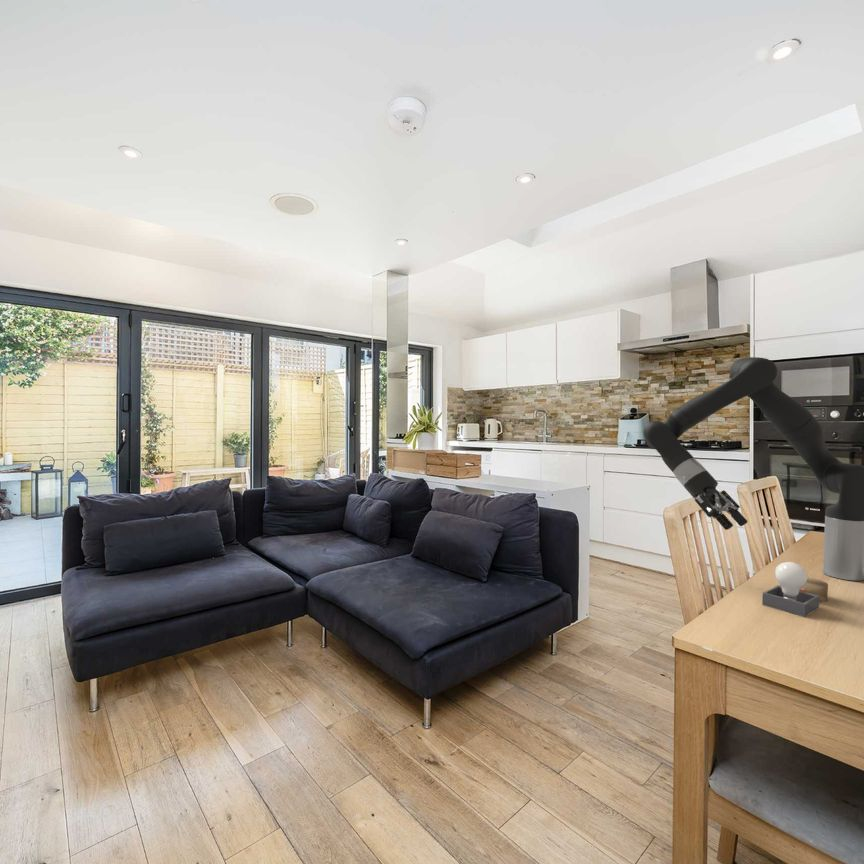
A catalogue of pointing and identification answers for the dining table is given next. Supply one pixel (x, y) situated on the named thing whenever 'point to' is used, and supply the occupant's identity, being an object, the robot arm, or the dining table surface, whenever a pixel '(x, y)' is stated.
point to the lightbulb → (790, 579)
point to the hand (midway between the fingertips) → (737, 526)
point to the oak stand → (817, 588)
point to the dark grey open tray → (791, 601)
